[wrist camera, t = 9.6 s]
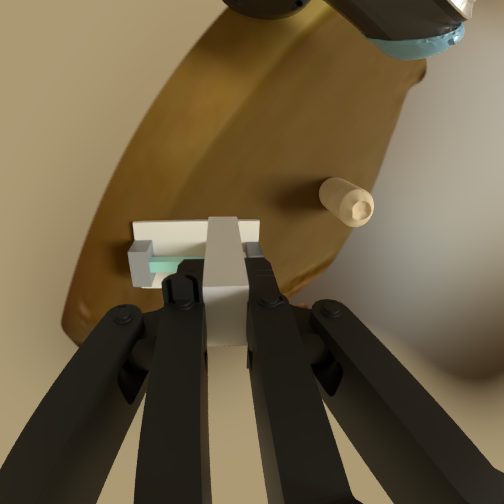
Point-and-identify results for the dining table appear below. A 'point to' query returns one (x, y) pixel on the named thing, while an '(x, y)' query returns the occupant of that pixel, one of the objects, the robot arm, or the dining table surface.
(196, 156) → the dining table surface
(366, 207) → the candle
